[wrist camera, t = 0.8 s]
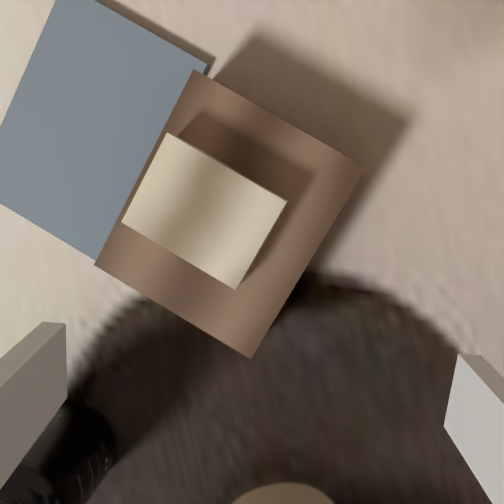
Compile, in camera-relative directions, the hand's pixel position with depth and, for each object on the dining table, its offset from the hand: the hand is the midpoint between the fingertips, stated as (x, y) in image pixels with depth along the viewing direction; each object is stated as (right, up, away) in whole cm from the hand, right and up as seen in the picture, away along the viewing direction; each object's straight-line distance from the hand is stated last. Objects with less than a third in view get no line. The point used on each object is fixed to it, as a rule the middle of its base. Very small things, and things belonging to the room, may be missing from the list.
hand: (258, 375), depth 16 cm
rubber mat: (-12, +13, +18) cm, 25 cm away
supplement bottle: (-14, -11, +22) cm, 28 cm away
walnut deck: (-2, +7, +18) cm, 19 cm away
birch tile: (-3, +7, +14) cm, 16 cm away
